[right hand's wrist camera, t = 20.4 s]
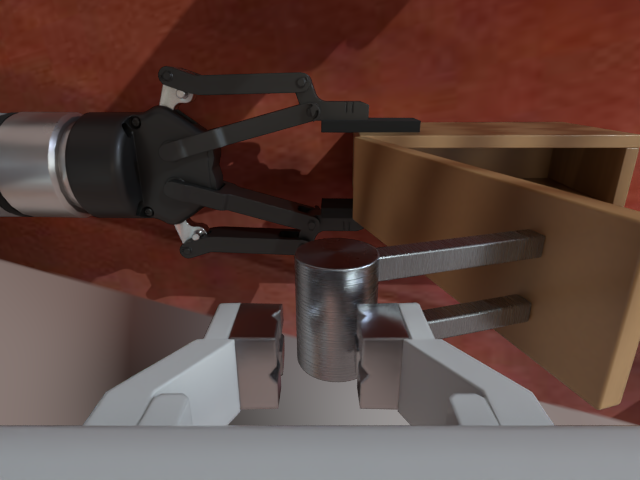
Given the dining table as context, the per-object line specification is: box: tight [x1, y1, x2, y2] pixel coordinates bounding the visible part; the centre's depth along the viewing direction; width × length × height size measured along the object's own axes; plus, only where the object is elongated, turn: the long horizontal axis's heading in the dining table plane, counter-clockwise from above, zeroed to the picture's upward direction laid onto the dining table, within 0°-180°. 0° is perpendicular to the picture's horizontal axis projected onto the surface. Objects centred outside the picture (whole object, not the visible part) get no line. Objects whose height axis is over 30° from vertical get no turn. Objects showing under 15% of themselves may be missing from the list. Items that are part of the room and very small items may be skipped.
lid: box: [294, 136, 640, 410], centre depth 17 cm, size 18×5×8 cm
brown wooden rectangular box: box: [352, 122, 640, 207], centre depth 31 cm, size 17×5×10 cm, turn 90°
